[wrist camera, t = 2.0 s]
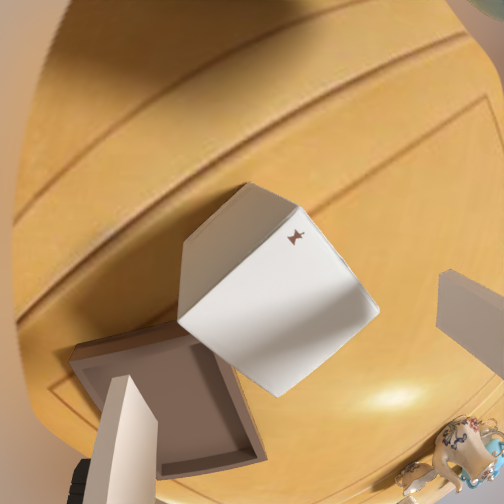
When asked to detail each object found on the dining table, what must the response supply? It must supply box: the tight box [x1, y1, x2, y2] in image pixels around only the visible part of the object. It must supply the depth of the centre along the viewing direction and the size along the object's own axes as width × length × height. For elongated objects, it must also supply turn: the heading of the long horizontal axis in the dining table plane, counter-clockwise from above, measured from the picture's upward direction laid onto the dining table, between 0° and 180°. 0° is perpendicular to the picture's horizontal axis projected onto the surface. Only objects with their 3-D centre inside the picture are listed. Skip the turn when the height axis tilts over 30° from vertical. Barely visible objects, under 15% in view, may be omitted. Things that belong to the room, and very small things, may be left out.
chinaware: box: [395, 415, 504, 496], centre depth 38 cm, size 28×17×17 cm, turn 107°
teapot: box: [460, 439, 504, 489], centre depth 50 cm, size 15×17×11 cm
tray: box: [68, 320, 268, 480], centre depth 28 cm, size 20×14×3 cm
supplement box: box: [177, 181, 380, 398], centre depth 20 cm, size 7×7×13 cm
